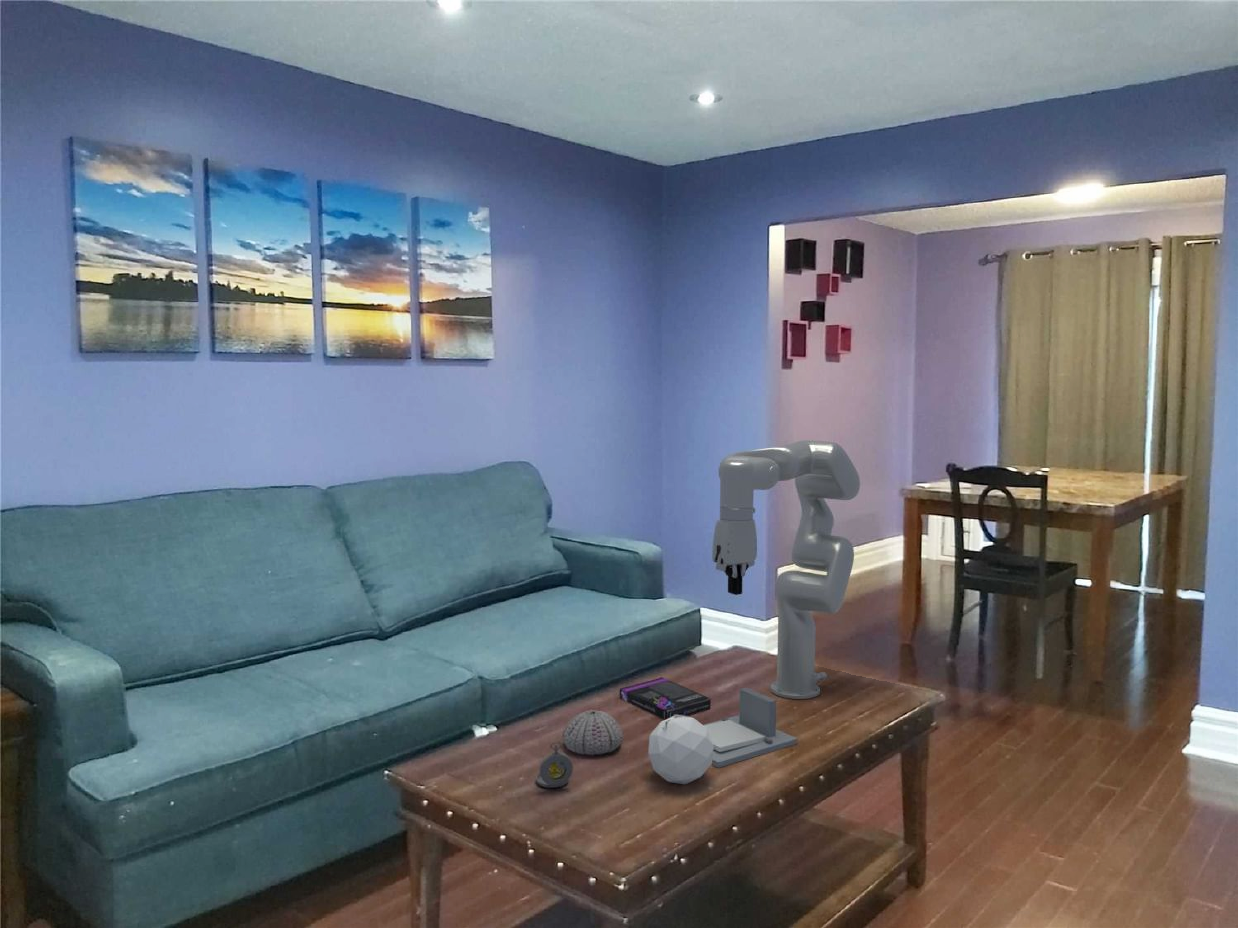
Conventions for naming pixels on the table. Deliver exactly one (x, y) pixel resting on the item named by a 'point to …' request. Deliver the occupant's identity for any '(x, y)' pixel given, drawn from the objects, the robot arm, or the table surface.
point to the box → (665, 698)
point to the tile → (731, 735)
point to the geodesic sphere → (680, 749)
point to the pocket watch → (559, 764)
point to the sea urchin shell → (592, 733)
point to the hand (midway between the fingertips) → (734, 593)
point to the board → (750, 748)
